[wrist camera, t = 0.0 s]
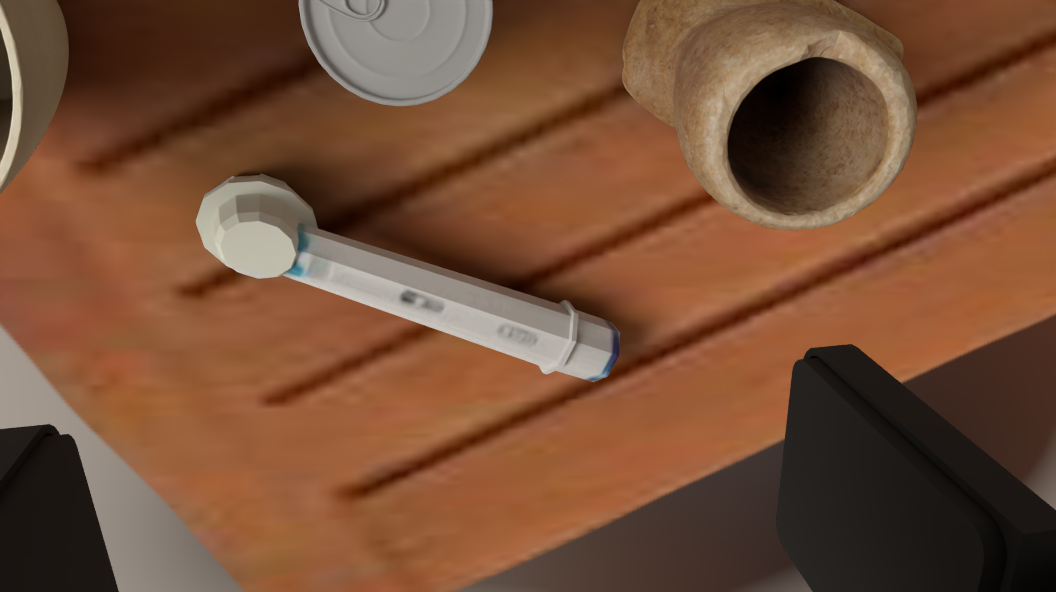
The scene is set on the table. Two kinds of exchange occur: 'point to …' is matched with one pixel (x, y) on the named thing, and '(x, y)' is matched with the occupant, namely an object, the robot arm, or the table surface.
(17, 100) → the plant pot
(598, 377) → the white handheld tool
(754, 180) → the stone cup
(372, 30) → the canned tomato
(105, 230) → the table surface
